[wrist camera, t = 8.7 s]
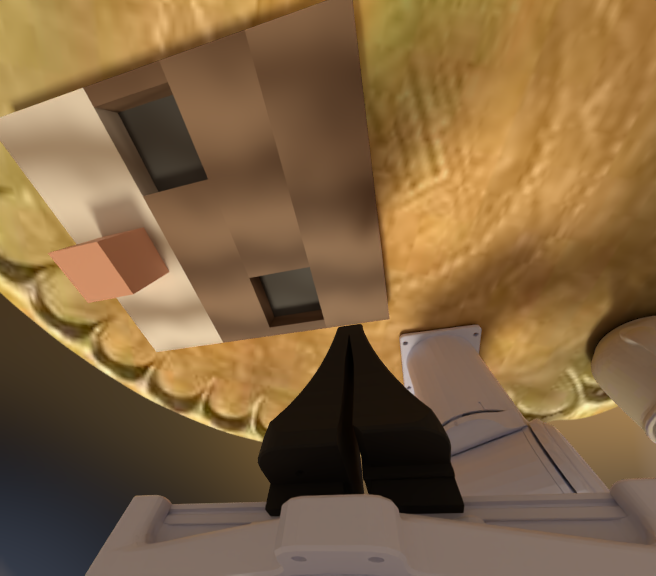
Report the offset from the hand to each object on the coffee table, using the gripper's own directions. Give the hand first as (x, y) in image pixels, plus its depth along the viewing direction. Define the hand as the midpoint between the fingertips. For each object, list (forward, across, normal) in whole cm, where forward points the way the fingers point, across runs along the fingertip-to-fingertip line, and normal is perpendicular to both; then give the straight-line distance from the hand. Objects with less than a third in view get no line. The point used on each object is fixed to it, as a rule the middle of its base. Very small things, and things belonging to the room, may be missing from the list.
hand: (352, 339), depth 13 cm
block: (+7, +17, -6) cm, 20 cm away
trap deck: (+9, +10, -6) cm, 15 cm away
